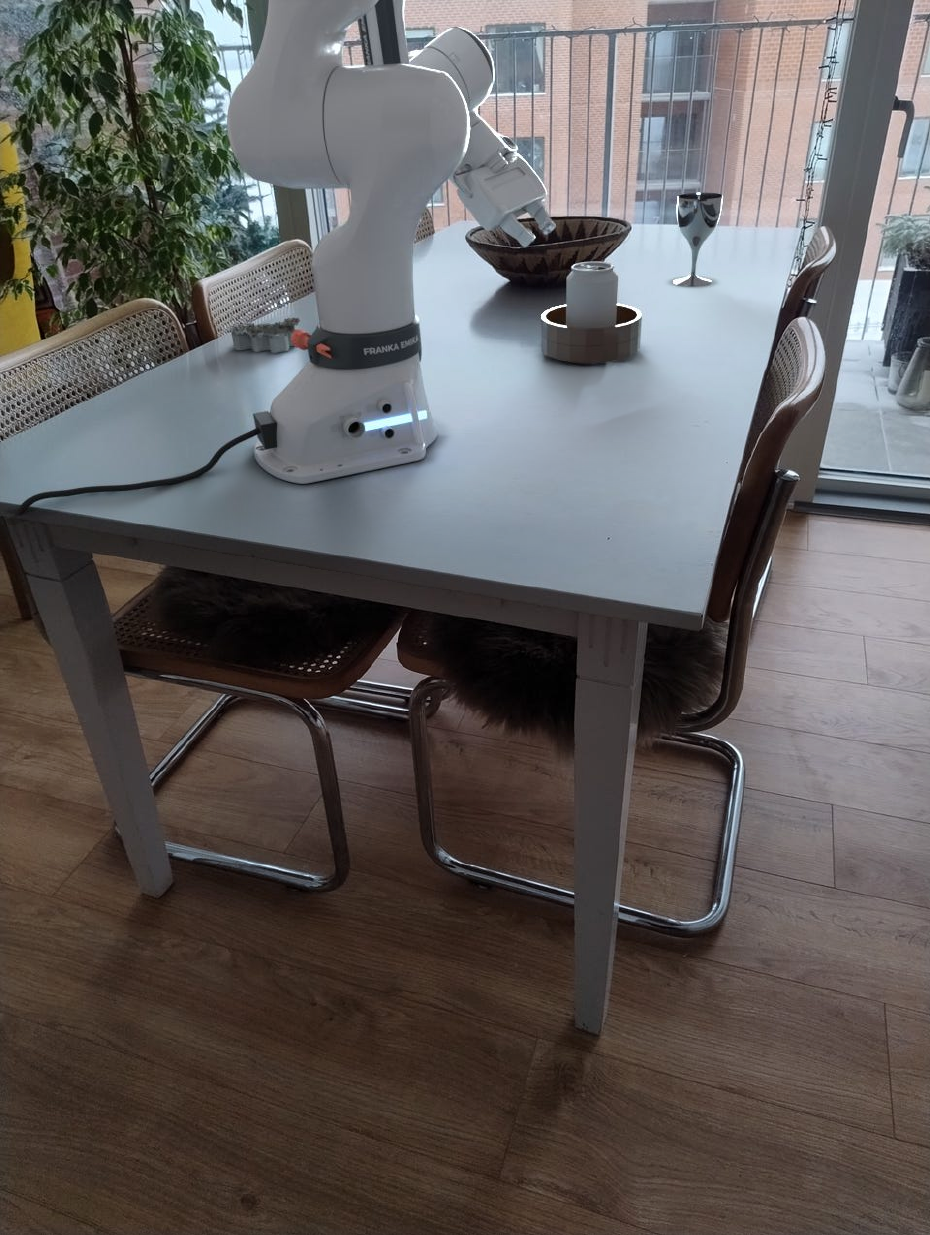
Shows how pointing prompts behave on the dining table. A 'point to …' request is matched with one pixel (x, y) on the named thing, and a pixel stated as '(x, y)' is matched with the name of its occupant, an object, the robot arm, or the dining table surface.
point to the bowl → (590, 337)
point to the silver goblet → (697, 227)
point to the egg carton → (264, 336)
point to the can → (591, 295)
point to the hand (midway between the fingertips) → (541, 237)
